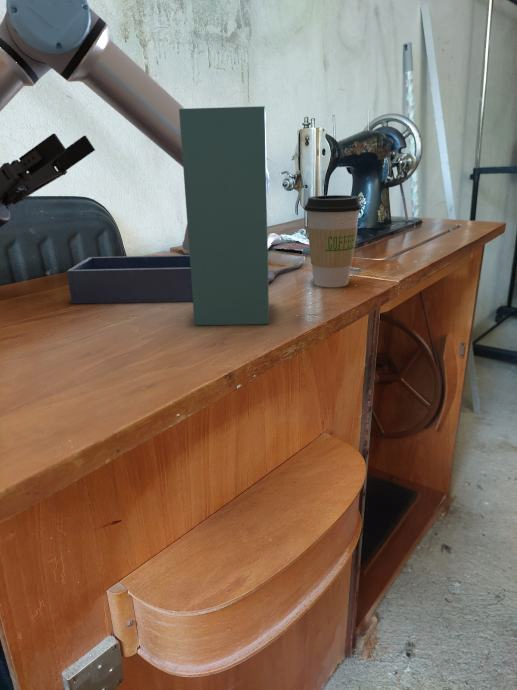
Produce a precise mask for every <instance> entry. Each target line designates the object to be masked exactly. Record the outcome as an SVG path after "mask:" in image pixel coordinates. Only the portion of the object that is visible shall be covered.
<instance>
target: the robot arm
mask: <svg viewBox="0 0 517 690" xmlns="http://www.w3.org/2000/svg"><path fill="white" fill-rule="evenodd" d="M5 8H6V9H5V10H6V11H5V14H4V16H3V18H2V21H1V23H0V47H1V48H0V113H1V112H2V111H3V110H4V109H5V107H7V105H8V104H9V103H10V102H11V101H12V100H13V99H14V98H15V97H16V96H17V94H19V93H20V91H22V89H23V88H24V87H34V86H35V85H36V83H37V82H39V80H41V78H42V77H44V75H46V74H47V73H49V71H50V70H53V71H55V72H56V73H57V74H58V75H59V76H61V77H62V78H63V79H64V80H66V81H67V82H69V83H71V82H72V83H73V82H81V83H83V84H84V85H85V86H87V88H89V89H90V90H91V91H92V92H94V93H95V94H96V95H97V96H98V97H99V98H100V99H101V100H103V101H104V102H105V103H106V104H107V105H109V106H110V107H111V108H112V109H113V110H115V111H116V112H117V113H118V114H120V115H121V116H122V117H123V118H124V119H125V120H127V121H128V122H129V123H130V124H131V125H132V126H134V127H135V128H136V129H137V130H138V131H140V133H142V134H143V135H144V136H146V137H147V138H148V139H149V140H150V141H152V142H153V143H154V145H156V146H157V147H159V148H160V149H161V150H162V151H163V152H164V153H166V154H167V156H169V157H170V158H172V160H174V161H175V162H176V163H177V164H179V165H180V166H181V167H182V168H183V157H182V143H181V130H180V116H179V109H186V108H185V107H184V106H183V105H182V104H181V103H180V102H178V101H177V99H175V98H174V97H173V96H172V95H171V94H170V93H169V92H168V91H167V90H166V89H164V87H163V86H161V85H160V84H159V83H158V82H157V81H156V80H155V79H154V78H153V77H152V76H151V75H149V74H148V73H147V71H145V70H144V69H143V68H142V67H140V66H139V65H138V64H137V62H135V60H133V59H132V58H131V57H130V56H129V55H128V54H126V52H125V51H123V50H122V49H121V48H120V47H119V46H118V45H117V44H116V43H114V41H112V38H111V36H110V29H109V25H108V23H107V22H106V21H105V20H103V18H101V16H100V15H99V14H97V13H96V12H95V11H94V10H93V9H92V8H91V7H90V6H89V3H88V0H6V1H5ZM16 62H17V63H16ZM95 151H96V149H95V147H94V146H93V144H92V142H91V141H90V140H89V138H88V137H87V135H83V136H81V137H80V138H78V139H77V140H75V141H74V142H73V143H71V144H70V145H69V146H67V147H65V145H64V144H63V143H62V141H61V140H60V138H59V137H58V136H57V134H56V133H51V134H50V135H49V136H47V137H46V138H45V139H44V140H42V141H41V142H39V143H38V144H37V145H35V146H34V147H32V148H31V149H30V150H28V151H27V152H26V153H24V154H23V155H21V156H20V157H19V158H18V159H14V160H12V161H11V162H9V161H8V162H4V163H2V165H1V166H0V228H2V227H3V226H5V225H6V224H8V223H9V222H10V220H11V212H10V211H11V210H10V209H9V206H10V205H17V204H19V203H20V202H23V201H24V200H25V199H26V198H28V197H29V196H30V195H32V194H34V193H36V192H37V191H40V190H41V189H42V188H44V187H46V186H48V185H49V184H50V183H52V182H54V181H56V180H57V179H59V178H60V177H62V176H65V175H66V174H68V170H69V169H71V168H73V166H75V165H76V164H78V163H79V162H80V161H82V160H83V159H85V158H86V157H88V156H89V155H91V154H92V153H93V152H95ZM266 180H267V195H268V193H269V190H270V174H269V170H268V168H267V167H266ZM181 250H182V254H183V255H190V252H189V239H188V225H187V224H186V227H185V232H184V238H183V241H182V246H181Z"/></svg>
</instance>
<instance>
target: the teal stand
mask: <svg viewBox="0 0 517 690" xmlns="http://www.w3.org/2000/svg"><path fill="white" fill-rule="evenodd" d="M179 116H180V130H181V143H182V157H183V167H182V168H183V169H182V170H183V181H184V193H185V194H184V196H185V197H184V198H185V210H186V226H187V225H188V239H189V252H190V266H191V280H192V293H193V301H192V305H193V319H194V326H243V325H244V326H245V325H246V326H247V325H250V326H251V325H270V293H269V292H270V291H269V283H268V271H269V248H268V235H269V234H268V194H267V180H266V168H267V135H266V132H267V131H266V106H265V105H263V106H262V105H261V106H260V105H259V106H257V105H256V106H227V107H226V106H224V107H194V108H193V107H192V108H190V107H189V108H188V107H187V108H185V109H179Z"/></svg>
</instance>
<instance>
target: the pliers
mask: <svg viewBox="0 0 517 690" xmlns="http://www.w3.org/2000/svg"><path fill="white" fill-rule="evenodd" d="M302 262H303V261H302V260H301V259H299V260H298V262H297V263H295V264H293V265H289V266H284V267H281V268H277V269H272V270H268V284H269V283H270V282H272V281H273V280H274V279H275V277H276V276H277V275H279V274H282V273H285V272H290V271H292V270H297V269H298V268H299V267H301V266H302V264H303V263H302Z"/></svg>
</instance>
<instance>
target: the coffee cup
mask: <svg viewBox="0 0 517 690" xmlns="http://www.w3.org/2000/svg"><path fill="white" fill-rule="evenodd" d="M361 210H363V207H362V204H361V203H360V199H359V197H358V196H357V195H347V194H346V195H345V194H329V195H326V194H325V195H313V196H309V197H308V198H307V201H306V204H305V205H304V211H305V212H306V217H307V226H306V227H307V236H308V246H309V255H310V257H309V258H310V264H311V267H312V269H311V270H312V277H313V278H312V279H313V284H314V285H315V286H317V287H322V288H341V287H346V286H347V285H349V281H350V274H351V270H352V269H351V267H352V264H353V260H354V253H355V248H356V240H357V234H358V228H359V225H358V222H359V216H360V211H361Z"/></svg>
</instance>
